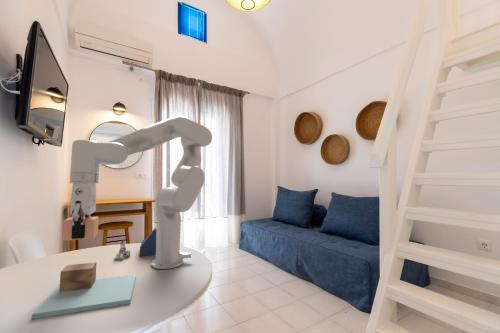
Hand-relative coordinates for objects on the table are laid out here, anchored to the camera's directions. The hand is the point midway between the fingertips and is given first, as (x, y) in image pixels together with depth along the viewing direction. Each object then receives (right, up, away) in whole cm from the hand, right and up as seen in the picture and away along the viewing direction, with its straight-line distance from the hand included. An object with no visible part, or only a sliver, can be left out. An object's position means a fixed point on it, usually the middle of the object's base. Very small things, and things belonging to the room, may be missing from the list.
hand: (81, 235), depth 74 cm
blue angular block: (+7, -19, +39) cm, 44 cm away
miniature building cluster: (-1, -19, +29) cm, 35 cm away
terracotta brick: (0, -1, 0) cm, 1 cm away
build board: (+6, -17, -4) cm, 18 cm away
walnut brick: (0, -16, -1) cm, 16 cm away
